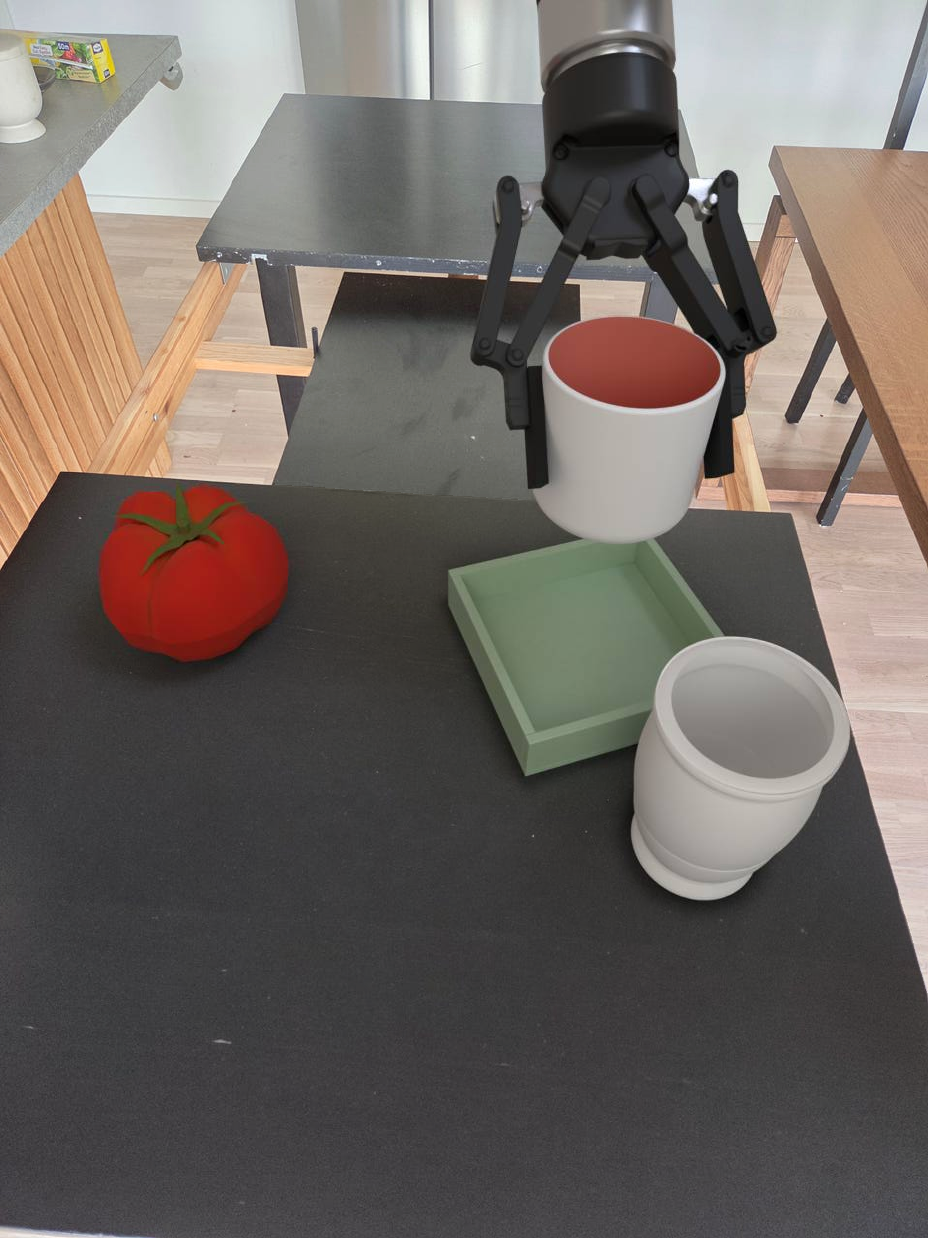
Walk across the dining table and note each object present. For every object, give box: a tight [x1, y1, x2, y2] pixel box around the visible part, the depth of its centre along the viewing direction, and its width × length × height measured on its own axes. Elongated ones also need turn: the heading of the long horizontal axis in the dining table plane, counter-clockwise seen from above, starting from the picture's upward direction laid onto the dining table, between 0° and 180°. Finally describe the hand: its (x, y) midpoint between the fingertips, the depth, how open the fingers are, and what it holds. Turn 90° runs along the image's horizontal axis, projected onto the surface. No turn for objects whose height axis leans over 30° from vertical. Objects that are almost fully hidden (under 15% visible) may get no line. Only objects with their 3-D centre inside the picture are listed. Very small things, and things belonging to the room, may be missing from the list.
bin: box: [447, 538, 726, 777], centre depth 66 cm, size 18×18×4 cm
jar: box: [630, 636, 851, 901], centre depth 51 cm, size 11×10×15 cm
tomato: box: [98, 480, 290, 663], centre depth 65 cm, size 13×14×12 cm
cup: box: [532, 314, 726, 544], centre depth 50 cm, size 10×10×10 cm
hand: (629, 481), depth 49 cm, fingers closed on cup, 10 cm apart
